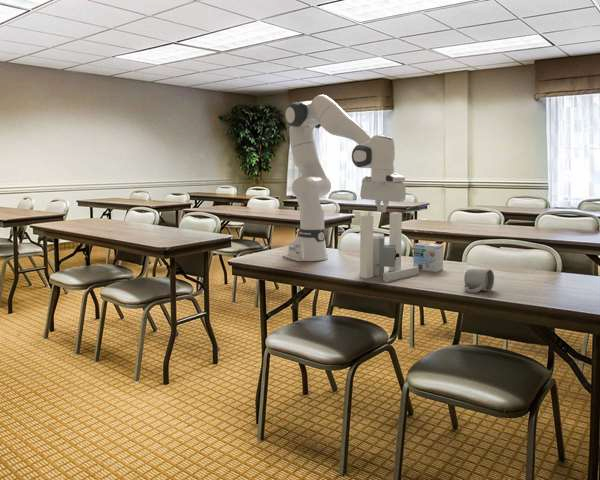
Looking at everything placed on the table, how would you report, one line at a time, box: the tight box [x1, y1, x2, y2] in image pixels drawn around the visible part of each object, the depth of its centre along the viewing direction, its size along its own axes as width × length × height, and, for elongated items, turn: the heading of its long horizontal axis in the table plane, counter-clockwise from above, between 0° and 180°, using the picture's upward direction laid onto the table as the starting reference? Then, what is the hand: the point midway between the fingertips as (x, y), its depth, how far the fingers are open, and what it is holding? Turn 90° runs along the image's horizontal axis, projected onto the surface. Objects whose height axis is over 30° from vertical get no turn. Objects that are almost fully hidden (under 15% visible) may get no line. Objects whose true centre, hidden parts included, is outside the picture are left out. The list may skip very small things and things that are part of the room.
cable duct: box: [382, 266, 420, 283], centre depth 207 cm, size 2×20×3 cm, turn 132°
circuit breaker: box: [373, 235, 399, 277], centre depth 213 cm, size 8×14×15 cm, turn 78°
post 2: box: [388, 211, 403, 272], centre depth 218 cm, size 4×4×24 cm
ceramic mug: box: [463, 268, 495, 294], centre depth 185 cm, size 11×8×8 cm
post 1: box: [359, 215, 374, 279], centre depth 206 cm, size 4×4×24 cm
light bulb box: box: [412, 241, 445, 273], centre depth 222 cm, size 11×7×11 cm, turn 47°
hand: (381, 212), depth 211 cm, fingers closed
